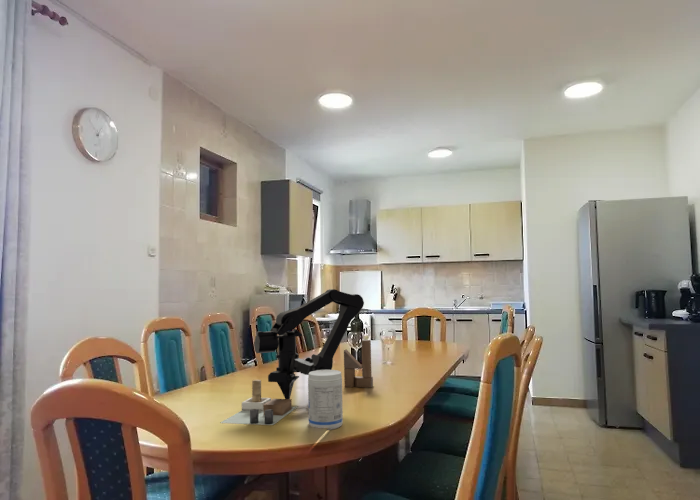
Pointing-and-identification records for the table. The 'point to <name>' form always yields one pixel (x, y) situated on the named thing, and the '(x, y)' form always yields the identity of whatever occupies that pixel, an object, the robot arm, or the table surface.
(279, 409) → the cardboard brown brick
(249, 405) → the tray
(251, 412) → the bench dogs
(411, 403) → the table surface
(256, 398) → the dowel
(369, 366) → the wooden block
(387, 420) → the table surface
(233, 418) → the mat
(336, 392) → the supplement tub
